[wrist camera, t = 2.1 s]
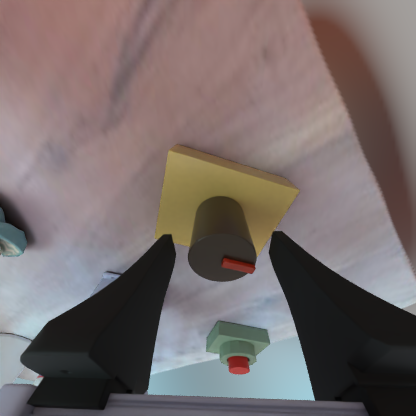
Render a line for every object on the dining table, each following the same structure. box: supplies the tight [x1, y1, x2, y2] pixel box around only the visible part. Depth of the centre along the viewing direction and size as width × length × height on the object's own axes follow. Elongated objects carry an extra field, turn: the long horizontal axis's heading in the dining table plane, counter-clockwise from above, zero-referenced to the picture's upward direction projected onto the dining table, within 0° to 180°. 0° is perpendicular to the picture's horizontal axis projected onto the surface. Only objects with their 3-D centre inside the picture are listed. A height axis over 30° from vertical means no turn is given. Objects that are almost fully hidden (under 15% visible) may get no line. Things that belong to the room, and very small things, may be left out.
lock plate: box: [155, 144, 300, 256], centre depth 16 cm, size 11×9×3 cm
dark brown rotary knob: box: [188, 196, 257, 282], centre depth 12 cm, size 4×4×5 cm
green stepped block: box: [206, 321, 270, 366], centre depth 30 cm, size 10×8×4 cm
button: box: [228, 356, 250, 374], centre depth 28 cm, size 4×4×2 cm
